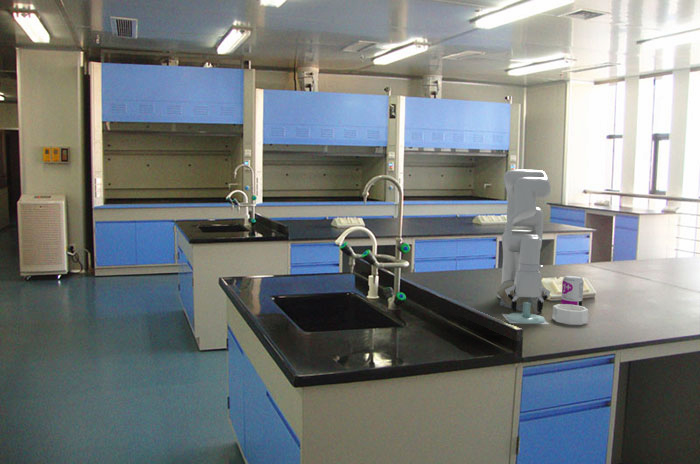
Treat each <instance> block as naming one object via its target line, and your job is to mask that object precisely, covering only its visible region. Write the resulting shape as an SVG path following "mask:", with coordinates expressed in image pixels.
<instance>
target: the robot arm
mask: <svg viewBox="0 0 700 464" xmlns="http://www.w3.org/2000/svg"><path fill="white" fill-rule="evenodd" d="M546 173H547V172H545V171H543V170H539V169H538V170H537V169H509V170H507V171H506V172H505V173H504V175H503V176H504V177H503V181H504V182H503V183H504V187H505V190H506V192H507V193H506V194H507V204H506V206H507V208H506V223H505V226H504V232H503V233H502V236H501V244H502V268H501V271H502V273H501V274H502V275H501V284H502V283H503V282H505V281H508V280H514V279H515V281H514V286H512V287H509V288H507V289H505V291H506V294H507V296H508V297H509V298H510V299H511V300H512V303H511V308H510V309H511V310H512V311H513V313H517V310H516V305H517V302H516V299H517V298H518V297H534V298H538V299H539V301H538V302H537V311H538V312H540V313H542V312H541V311H543V308H544V303H545V301H546V300H547V299H549V296H550V294H551V291H550V290H549V289H547V288H546V287H544V286H543V282H542V281H543V280H542V273H541V272H540V270H543V269H544V266H543V265H541V264H540V260H541V259H540V258H541V249H542V244H543V233H544V211H543V210H542V209H541V208H540V207H537V199H536V198H542V199H546V198H548V197H549V196H550V194H551V182H550V179H549V177H548V176H547V174H546ZM513 228H527V229H529V228H530V229H531V230H527V229H526V230H525V229H513ZM512 290H513V293H514V295H513V296H512V295H511V294H510V291H512ZM542 291H544V294H545V295H544V296H542V297H541V295H542ZM497 298H498V299H500V300H501V298H500V296H499V295H498V294H497ZM543 302H544V303H543ZM540 313H539V314H540Z"/></svg>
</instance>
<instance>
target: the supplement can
mask: <svg viewBox="0 0 700 464" xmlns="http://www.w3.org/2000/svg"><path fill="white" fill-rule="evenodd" d="M584 284H585V283H584V279H583V276H580V275H573V274H572V275H570V274H568V275H564V277H563V278H562V285H561V298H560V299H561V301H560V302H561V303H560V304H572V305H578V306H583V297H584Z"/></svg>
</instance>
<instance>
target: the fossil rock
mask: <svg viewBox="0 0 700 464" xmlns="http://www.w3.org/2000/svg"><path fill="white" fill-rule="evenodd" d="M514 281H515V279H514V280H508V281H505V282H503V283H502V282H501V285H500V286H499V287H498V289H497V291H496V293H497V296H498V295H499V296H500V298H501V299H500V298H499V299H500V300H499V303H498V307H504V308H506V309H507V308H508V309H511V303H512V300H511V299H510V298H509V297H508V296H507V294H506V291H505V289H507V288H509V287H512V286H514ZM510 294H511V295H512V296H513V295H514V293H513V290H512V291H510ZM544 295H545V292H544V291H542V295H541V297H542V296H544ZM538 301H539V299H538V298H534V297H518V298H517V299H516V302H517V305H516V311H519V312H521V313H523V303H524V302H528V303H531V307H530V314H536V315H538V314H540V312H538V311H537V302H538ZM544 303H545V301H544V302H543V304H544ZM541 313H543V310H541Z"/></svg>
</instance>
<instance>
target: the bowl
mask: <svg viewBox="0 0 700 464" xmlns="http://www.w3.org/2000/svg"><path fill="white" fill-rule="evenodd" d="M551 317H552V320H553V321H555V322H557V323H561V324H565V325H575V326H576V325H577V326H582V325H587V323H588V320H589V309H588V308H586V307H585V306H583V305H582V306H578V305H572V304H561V303H558V304H555V305H553V306H552V315H551Z"/></svg>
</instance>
